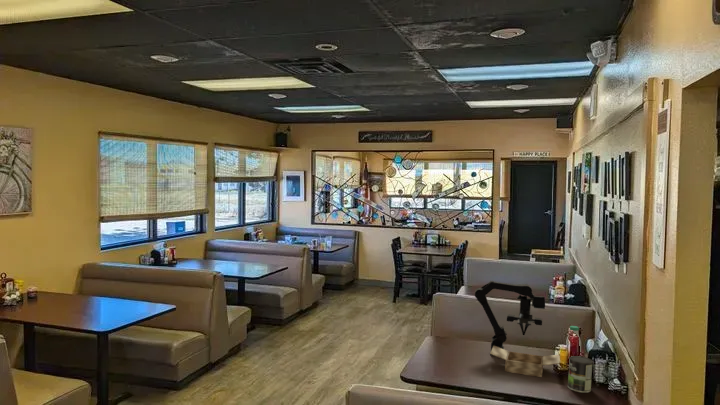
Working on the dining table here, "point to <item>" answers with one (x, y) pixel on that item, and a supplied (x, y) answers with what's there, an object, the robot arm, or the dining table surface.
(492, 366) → the dining table surface
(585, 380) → the coffee can
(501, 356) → the flap
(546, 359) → the flap
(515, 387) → the dining table surface
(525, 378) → the dining table surface
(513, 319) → the robot arm
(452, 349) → the dining table surface
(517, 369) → the carton
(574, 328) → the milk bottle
